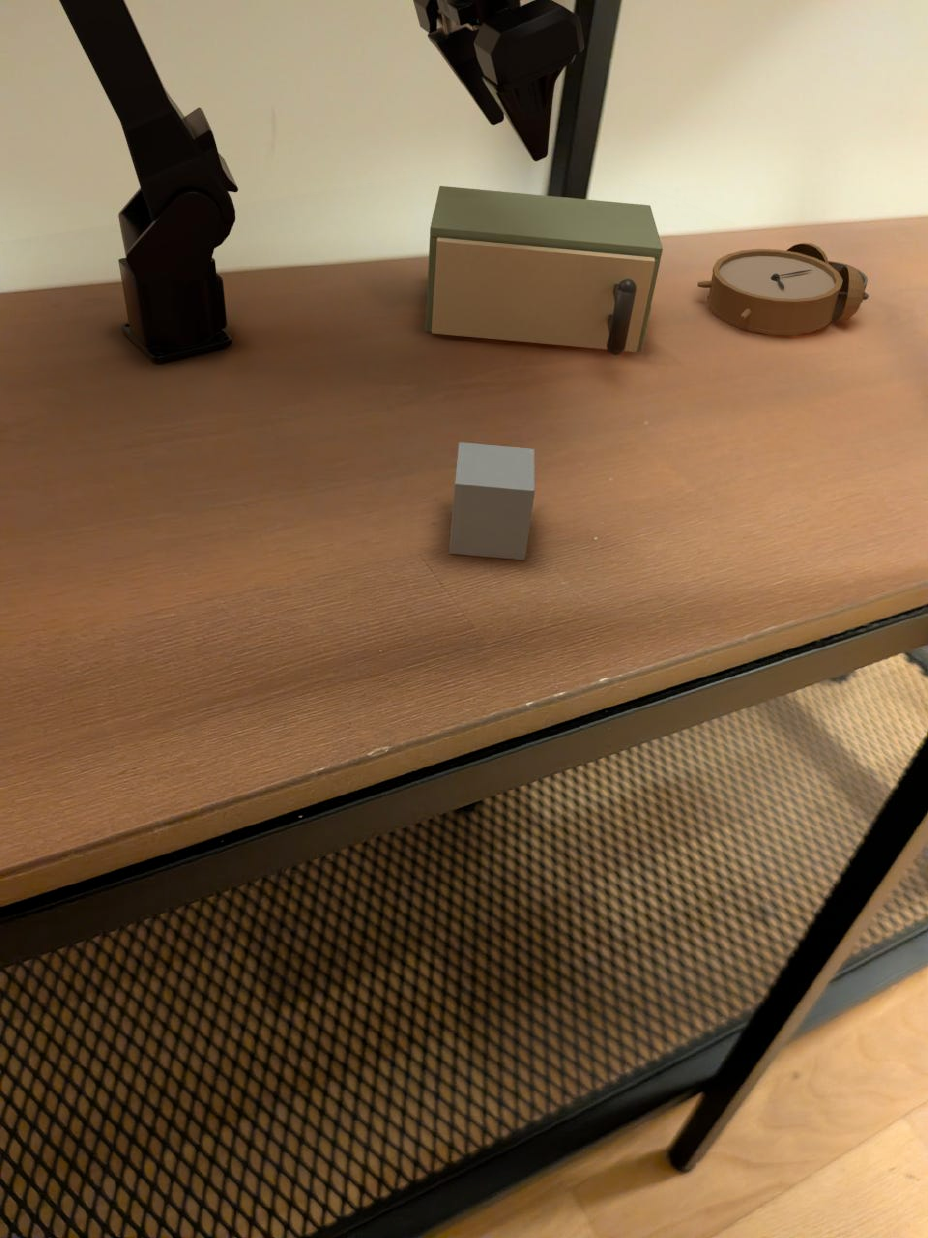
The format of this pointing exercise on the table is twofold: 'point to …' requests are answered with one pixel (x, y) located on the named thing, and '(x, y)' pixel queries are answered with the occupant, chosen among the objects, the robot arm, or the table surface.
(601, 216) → the cabinet
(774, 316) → the alarm clock
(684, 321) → the table surface
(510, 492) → the block
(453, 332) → the door
